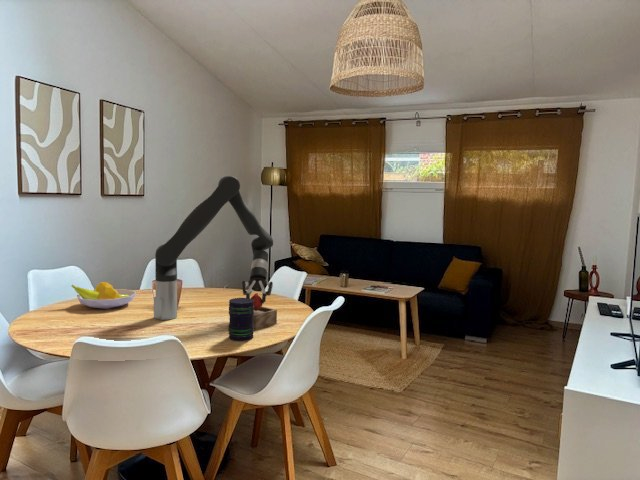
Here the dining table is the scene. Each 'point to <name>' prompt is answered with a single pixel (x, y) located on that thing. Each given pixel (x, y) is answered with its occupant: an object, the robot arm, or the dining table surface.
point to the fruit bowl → (104, 296)
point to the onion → (257, 301)
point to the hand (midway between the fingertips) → (255, 302)
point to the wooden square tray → (264, 317)
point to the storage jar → (241, 319)
